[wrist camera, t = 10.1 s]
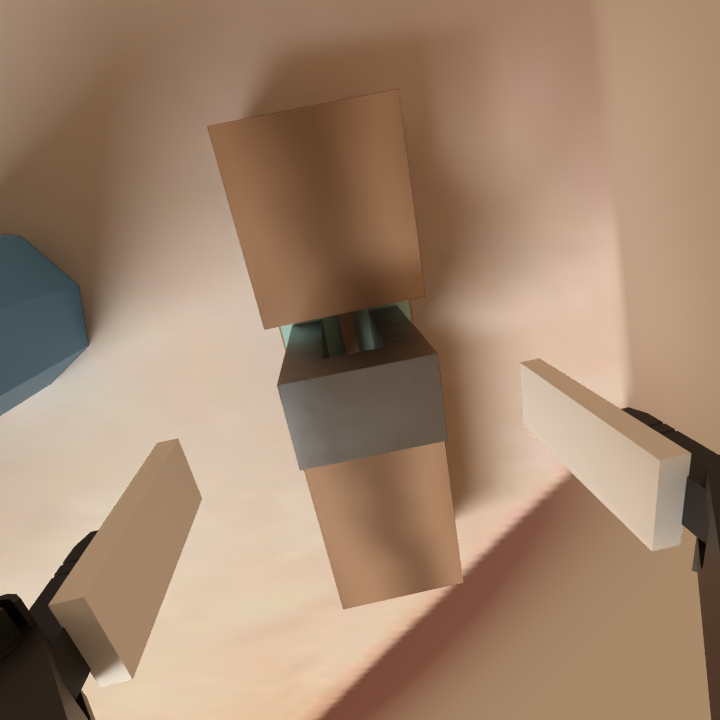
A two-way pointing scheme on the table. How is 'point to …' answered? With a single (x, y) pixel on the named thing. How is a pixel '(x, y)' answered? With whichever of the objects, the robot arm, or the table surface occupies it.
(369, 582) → the rail
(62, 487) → the table surface
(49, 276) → the water bottle
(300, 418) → the clip
